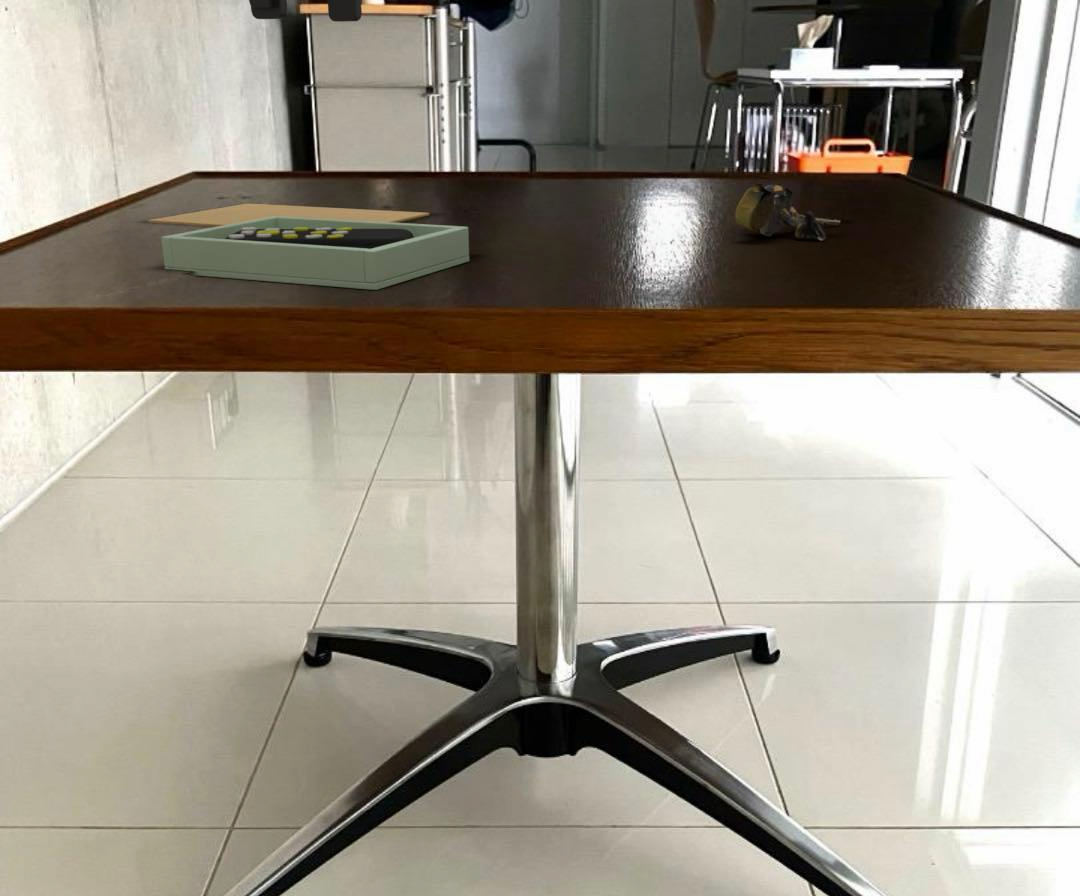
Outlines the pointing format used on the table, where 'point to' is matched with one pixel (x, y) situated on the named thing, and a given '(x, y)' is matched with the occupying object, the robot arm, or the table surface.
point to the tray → (317, 254)
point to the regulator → (776, 213)
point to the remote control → (325, 236)
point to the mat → (284, 214)
